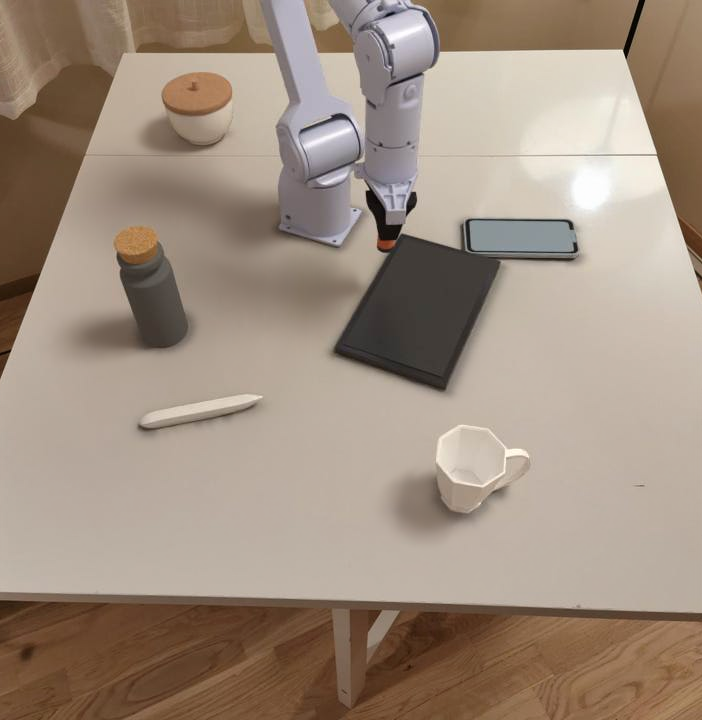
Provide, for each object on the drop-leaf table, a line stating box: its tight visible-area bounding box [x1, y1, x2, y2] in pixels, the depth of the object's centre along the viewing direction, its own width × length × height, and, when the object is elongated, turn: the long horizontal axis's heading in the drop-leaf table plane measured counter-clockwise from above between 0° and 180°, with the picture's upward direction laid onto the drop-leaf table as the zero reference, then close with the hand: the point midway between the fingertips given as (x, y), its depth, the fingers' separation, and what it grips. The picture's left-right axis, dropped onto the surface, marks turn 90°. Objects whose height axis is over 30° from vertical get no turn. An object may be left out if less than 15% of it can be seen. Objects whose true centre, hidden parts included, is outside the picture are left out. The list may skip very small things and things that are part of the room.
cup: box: [434, 423, 531, 514], centre depth 70 cm, size 7×10×8 cm
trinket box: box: [160, 71, 234, 146], centre depth 110 cm, size 11×11×9 cm
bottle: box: [113, 225, 189, 349], centre depth 82 cm, size 6×6×15 cm
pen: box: [139, 393, 264, 429], centre depth 79 cm, size 2×14×2 cm, turn 102°
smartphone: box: [462, 217, 581, 259], centre depth 96 cm, size 7×1×15 cm
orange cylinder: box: [376, 235, 395, 254], centre depth 83 cm, size 2×2×8 cm
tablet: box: [334, 232, 502, 392], centre depth 89 cm, size 14×22×1 cm, turn 156°
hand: (387, 231), depth 84 cm, fingers closed on orange cylinder, 2 cm apart
